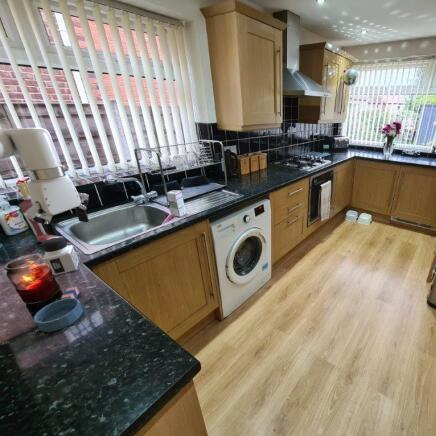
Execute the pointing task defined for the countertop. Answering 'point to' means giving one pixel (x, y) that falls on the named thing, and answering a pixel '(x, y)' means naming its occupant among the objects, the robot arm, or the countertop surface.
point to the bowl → (58, 315)
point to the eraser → (70, 293)
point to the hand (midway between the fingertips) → (69, 227)
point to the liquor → (34, 225)
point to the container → (59, 255)
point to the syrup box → (176, 203)
